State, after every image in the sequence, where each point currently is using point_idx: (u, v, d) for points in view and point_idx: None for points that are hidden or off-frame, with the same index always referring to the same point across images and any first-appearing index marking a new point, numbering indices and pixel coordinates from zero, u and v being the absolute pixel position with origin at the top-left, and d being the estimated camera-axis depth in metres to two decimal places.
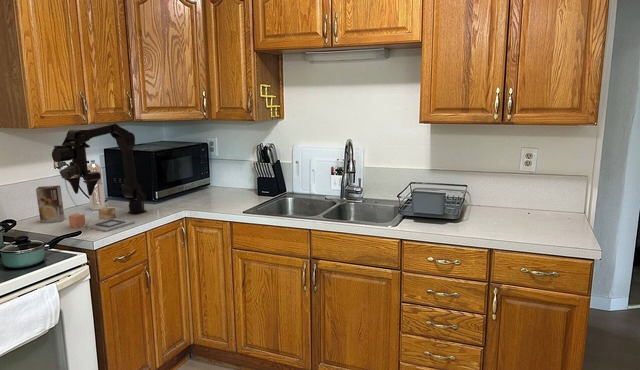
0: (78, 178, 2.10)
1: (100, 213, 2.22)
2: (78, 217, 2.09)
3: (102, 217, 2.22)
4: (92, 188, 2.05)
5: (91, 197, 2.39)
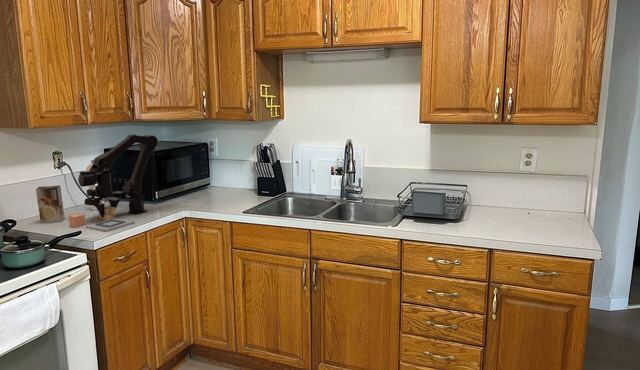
0: (114, 201, 2.25)
1: None
2: (78, 217, 2.09)
3: (102, 217, 2.22)
4: (101, 211, 2.20)
5: None
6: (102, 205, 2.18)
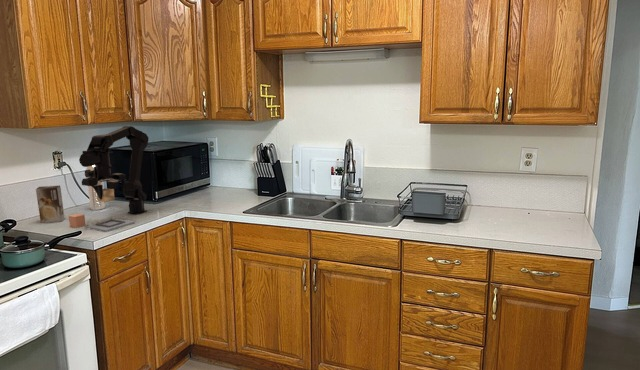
0: (113, 183, 2.15)
1: None
2: (78, 217, 2.09)
3: (100, 199, 2.12)
4: (99, 193, 2.10)
5: (91, 197, 2.39)
6: (100, 186, 2.08)
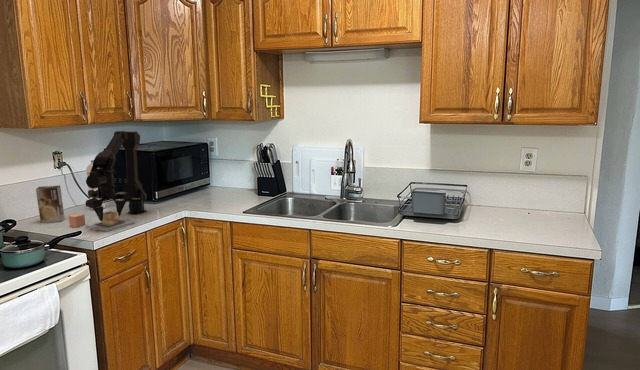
0: (121, 202, 2.13)
1: None
2: (78, 217, 2.09)
3: (105, 223, 2.09)
4: (100, 214, 2.05)
5: None
6: (100, 208, 2.03)
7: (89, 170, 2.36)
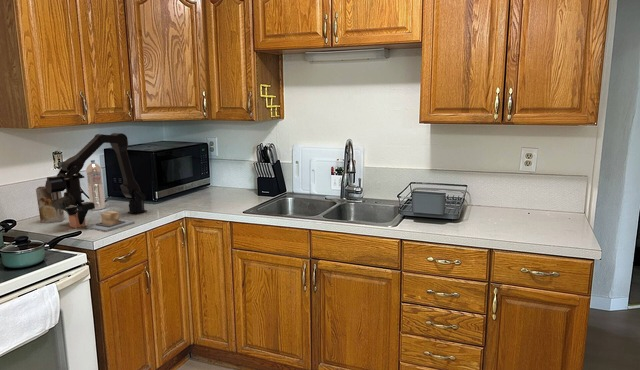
0: (75, 208, 2.13)
1: (102, 218, 2.09)
2: None
3: (105, 223, 2.09)
4: (83, 217, 2.10)
5: (91, 197, 2.39)
6: None
7: (89, 170, 2.36)
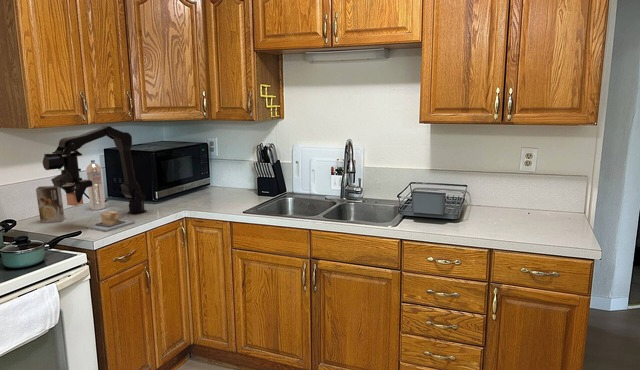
0: (73, 186, 2.11)
1: (102, 218, 2.09)
2: None
3: (105, 223, 2.09)
4: (81, 195, 2.08)
5: (91, 197, 2.39)
6: None
7: (89, 170, 2.36)
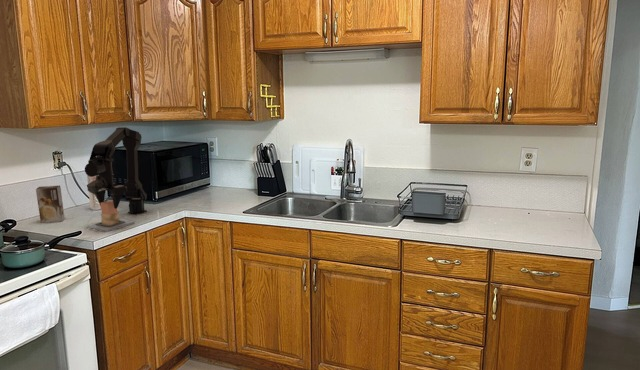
0: (104, 191, 2.12)
1: (102, 218, 2.09)
2: (110, 204, 2.07)
3: (105, 223, 2.09)
4: (118, 201, 2.07)
5: (91, 197, 2.39)
6: None
7: None
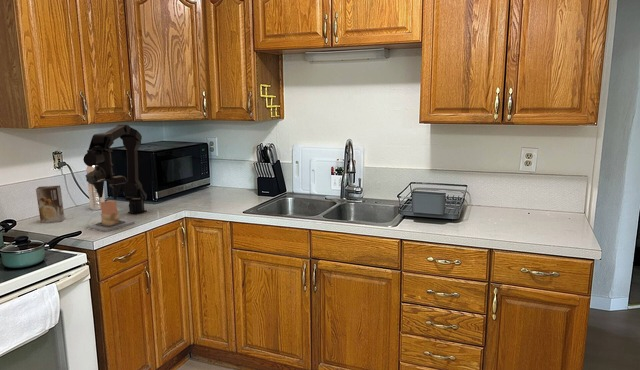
0: (102, 182, 2.12)
1: (102, 218, 2.09)
2: (110, 204, 2.07)
3: (105, 223, 2.09)
4: (117, 191, 2.06)
5: (91, 197, 2.39)
6: None
7: (89, 170, 2.36)
